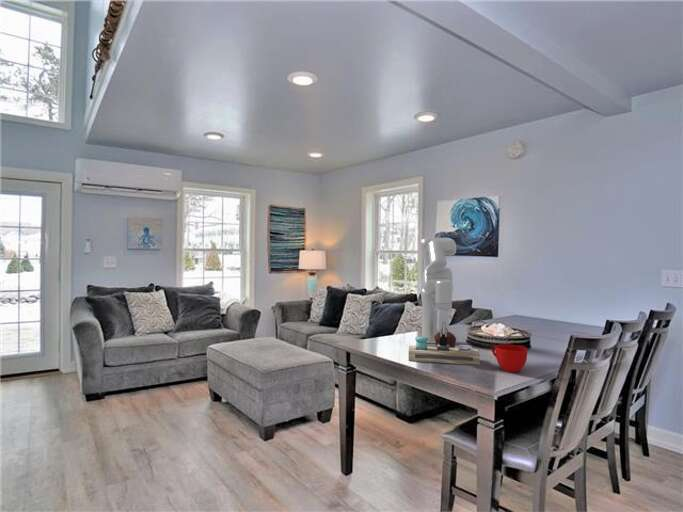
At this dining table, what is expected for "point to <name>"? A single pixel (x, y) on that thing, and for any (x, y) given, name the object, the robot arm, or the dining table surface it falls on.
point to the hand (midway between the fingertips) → (443, 345)
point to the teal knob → (421, 343)
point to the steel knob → (464, 348)
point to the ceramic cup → (510, 357)
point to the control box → (444, 356)
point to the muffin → (450, 339)
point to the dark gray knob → (443, 347)
